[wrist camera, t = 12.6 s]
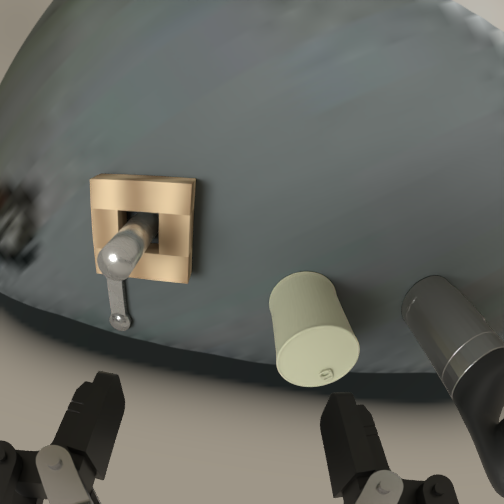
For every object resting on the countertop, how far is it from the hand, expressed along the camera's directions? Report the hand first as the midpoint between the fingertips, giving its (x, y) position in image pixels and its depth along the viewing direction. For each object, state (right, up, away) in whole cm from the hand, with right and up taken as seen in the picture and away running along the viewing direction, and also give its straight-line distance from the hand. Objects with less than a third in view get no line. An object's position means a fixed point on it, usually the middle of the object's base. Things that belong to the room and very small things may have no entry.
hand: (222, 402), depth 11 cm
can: (+8, -1, +32) cm, 33 cm away
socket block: (-12, +9, +26) cm, 30 cm away
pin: (-12, +9, +27) cm, 30 cm away
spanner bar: (-18, 0, +31) cm, 35 cm away
